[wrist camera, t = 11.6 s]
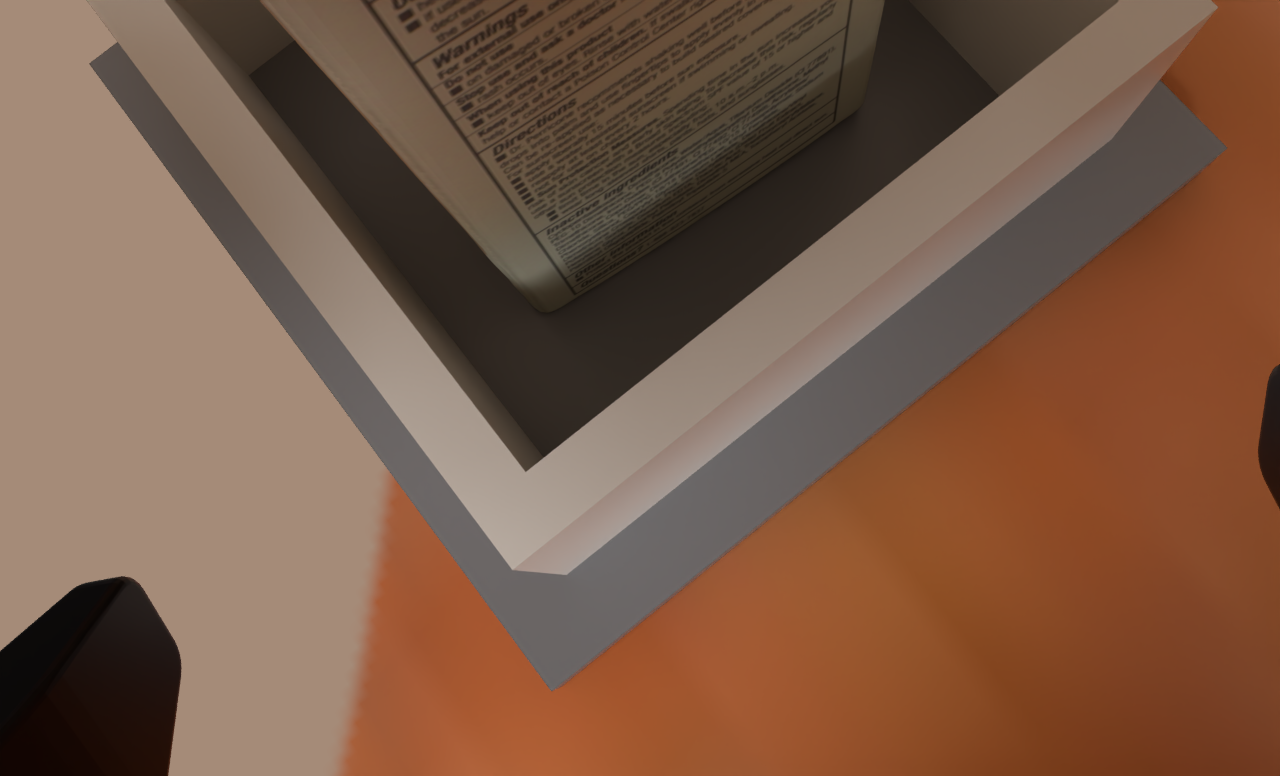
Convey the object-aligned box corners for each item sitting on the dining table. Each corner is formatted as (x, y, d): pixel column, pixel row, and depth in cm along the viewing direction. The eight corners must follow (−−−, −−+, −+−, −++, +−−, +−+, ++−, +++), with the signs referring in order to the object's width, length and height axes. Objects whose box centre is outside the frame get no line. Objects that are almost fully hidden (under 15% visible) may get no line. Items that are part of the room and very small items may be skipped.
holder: (562, 686, 18) (491, 721, 13) (120, 89, 20) (-80, -73, 15) (1201, 171, 18) (1370, 16, 13) (692, -347, 21) (676, -640, 16)
